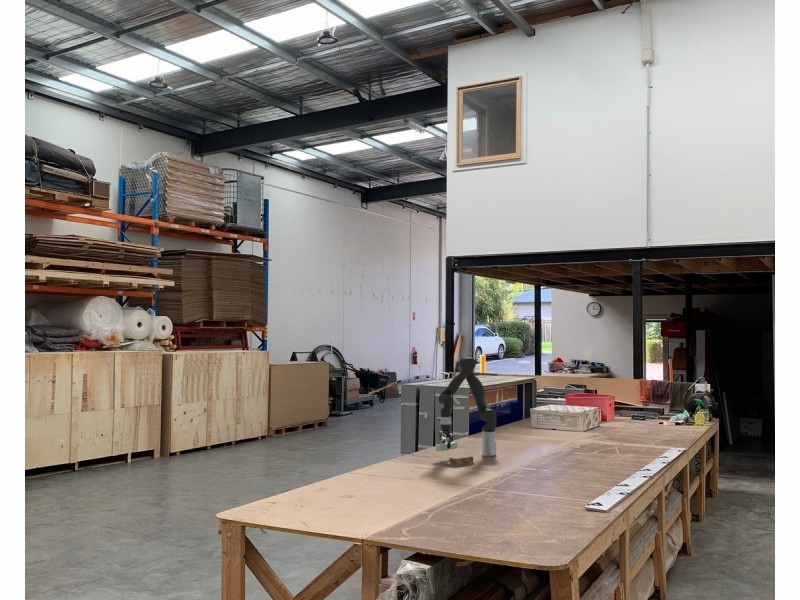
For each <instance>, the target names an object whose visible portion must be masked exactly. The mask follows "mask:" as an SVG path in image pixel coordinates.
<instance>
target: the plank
mask: <svg viewBox="0 0 800 600" xmlns="http://www.w3.org/2000/svg"><path fill="white" fill-rule="evenodd" d="M450 446H451V447H450V448H449V449H448V448H447V442H445V443H442V442H441V443H436V444H435V451H437V452H444V451H451V450H455V449H458V442H456V441H453V442H451V443H450Z"/></svg>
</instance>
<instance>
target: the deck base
mask: <svg viewBox="0 0 800 600" xmlns="http://www.w3.org/2000/svg"><path fill="white" fill-rule="evenodd" d="M442 463H443V464H442ZM439 464H442V465H445V464H446V465H445V466H448V465H449V467H452V468H454V467H455V466H456V467H463V466H469V465H475V462H474V461H473V463H467V464H459V465H452V464H450V459H449V460H440V461H439ZM456 467H455V468H456Z"/></svg>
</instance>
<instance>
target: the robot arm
mask: <svg viewBox="0 0 800 600" xmlns="http://www.w3.org/2000/svg"><path fill="white" fill-rule="evenodd" d="M476 366H477V361H476V359H475V358H473V357H469V356H468V357H466V356H465V357H464V356H463V357H461V358H460V359H459V367H460V370H461V371H460V372H459V373H458V374H457V375H456V376H455V377H453V378H452V380H451V381H450V382H449V384H448V385H447V387H446V388H445V389H444V390H443V391H442V392H441V393H440V394H439V396H438V403H439V404H441V405H443V408H441V409H440V422H439V423H440V430H441V431H438V434H439V441H440V442H441V443H447V448H448V449H449V448H450V447H451V446H450V443H451V442H454V441H453V440H454V434H453V433H451V431H452V417H451V416H452V413H451V411H452V408H453V397H452V396H453V395H455V394H456V393H457V391H458V390H459V388H460V387H461V385H462V384H463V382H464V381H465V380H466V381H467V382H466V383H467V384H468V386H469V389H470V392H471V394H472V397H473V400H474V402H475V405H476V407H477V411H478V414H479V416H480V419H481V420H482V421H484V422H485V425H484V426H482V428H481V436H482V438H481V442H482V444H481V445H482V447H481V449H482V451H481V455H482V456H483V457H484V456H485V457H494V455H495V456H496V455H497V442H496V428H497V412H496V410H494V409H491V408H488V406H487V404H486V401H485V400H486V399H485V397H486V392H485V389H484V386H483V383H482V382H481V380H480V379H479V377H477V376H476V374H475V373H474V371H473V370H474V369H475V368H476Z"/></svg>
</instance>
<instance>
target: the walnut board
mask: <svg viewBox="0 0 800 600" xmlns="http://www.w3.org/2000/svg"><path fill="white" fill-rule="evenodd" d="M449 460H450V464H452V465H459V464H467V463H473V462H474V456H473V455H469V454H468V455H463V456H455V457H449Z"/></svg>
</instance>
